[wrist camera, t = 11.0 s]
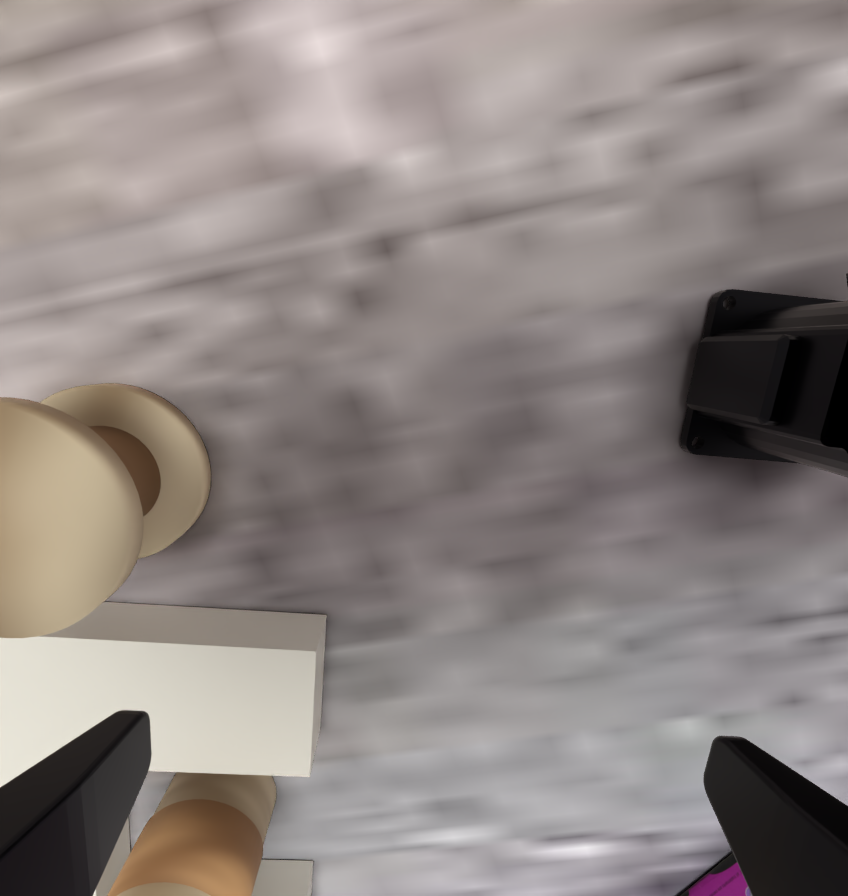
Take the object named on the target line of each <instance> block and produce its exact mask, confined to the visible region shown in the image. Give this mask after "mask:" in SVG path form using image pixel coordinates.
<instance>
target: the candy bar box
mask: <svg viewBox="0 0 848 896" xmlns="http://www.w3.org/2000/svg"><path fill="white" fill-rule="evenodd" d="M680 896H752V894H751V892H750V890H749V888H748V885H747V883H746V881H745V879H744V876H743V874H742V872H741V870H740V867H739V865H738V863H737V861H736V859H735V856H734V854H733V853H732V854H731V855H730V856H728V857H727V858H726V859H724V860H723V861H722V862H721V863H720V864H718V865H717V866H716V867H715V868H714V869H712V870H711V871H710V872H709V873H707V874H706V875H705V876H704V877H702V878H701V879H700V880H699V881H697V882H696V883H695V884H694V885H693V886H691V887H690V888H689V889H688V890H687V891H685V892H684V893H683V894H682V895H680Z"/></svg>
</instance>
